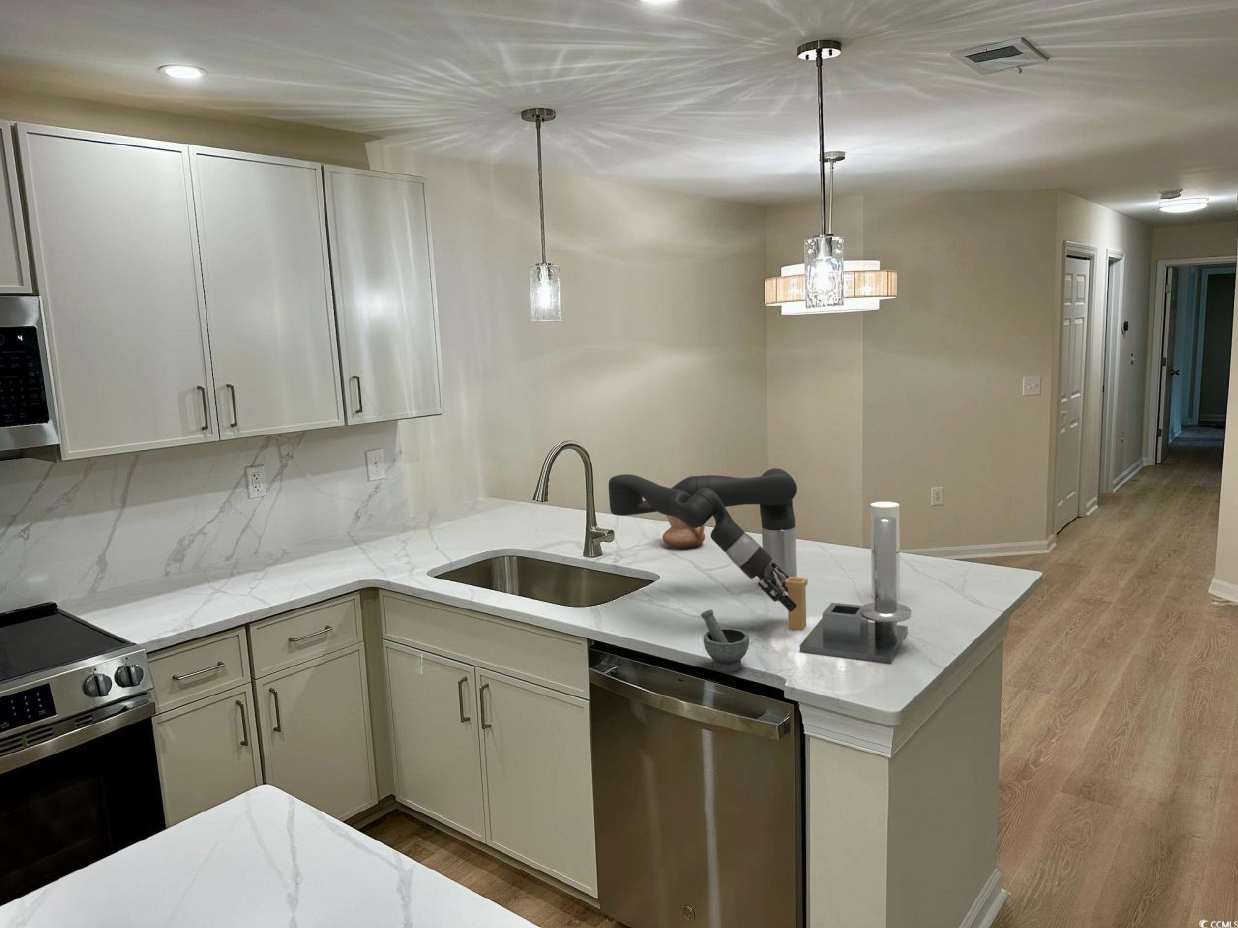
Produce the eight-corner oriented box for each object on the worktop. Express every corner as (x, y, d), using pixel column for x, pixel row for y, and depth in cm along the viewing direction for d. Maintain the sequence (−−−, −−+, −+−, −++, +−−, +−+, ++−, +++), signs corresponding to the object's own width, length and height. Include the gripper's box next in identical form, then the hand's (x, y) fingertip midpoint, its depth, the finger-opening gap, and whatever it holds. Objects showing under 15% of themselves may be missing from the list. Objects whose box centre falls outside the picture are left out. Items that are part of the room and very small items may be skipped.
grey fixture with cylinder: (799, 651, 194) (796, 524, 189) (823, 622, 211) (820, 505, 206) (902, 665, 183) (902, 531, 178) (918, 633, 200) (918, 510, 195)
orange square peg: (786, 628, 208) (785, 581, 206) (791, 623, 212) (789, 576, 210) (804, 630, 206) (802, 582, 204) (808, 625, 209) (807, 578, 208)
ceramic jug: (651, 545, 294) (649, 505, 291) (683, 537, 302) (681, 498, 300) (687, 554, 280) (685, 512, 277) (719, 546, 288) (717, 504, 286)
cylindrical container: (881, 602, 223) (880, 508, 219) (866, 594, 230) (865, 503, 226) (905, 598, 225) (904, 505, 221) (889, 590, 232) (889, 500, 228)
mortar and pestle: (758, 664, 188) (756, 611, 186) (733, 678, 181) (731, 624, 179) (716, 652, 196) (714, 602, 194) (691, 666, 189) (689, 614, 187)
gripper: (743, 557, 217) (789, 603, 215) (732, 573, 204) (781, 622, 202) (763, 538, 215) (810, 584, 213) (753, 553, 201) (803, 602, 200)
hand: (796, 603), depth 207 cm, fingers open, 8 cm apart
